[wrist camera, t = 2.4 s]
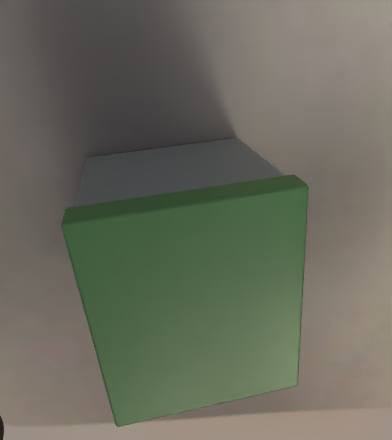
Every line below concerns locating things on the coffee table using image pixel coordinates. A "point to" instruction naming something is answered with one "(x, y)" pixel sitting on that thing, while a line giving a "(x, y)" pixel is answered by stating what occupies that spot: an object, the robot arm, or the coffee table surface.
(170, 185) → the container
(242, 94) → the coffee table surface
